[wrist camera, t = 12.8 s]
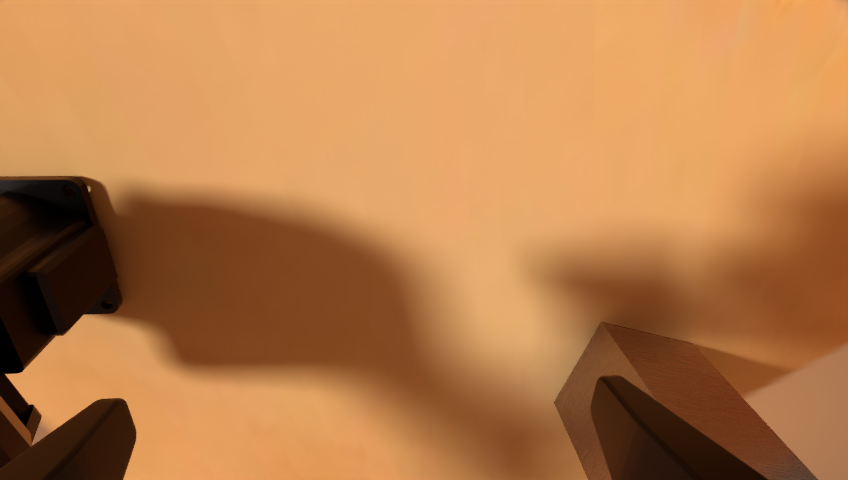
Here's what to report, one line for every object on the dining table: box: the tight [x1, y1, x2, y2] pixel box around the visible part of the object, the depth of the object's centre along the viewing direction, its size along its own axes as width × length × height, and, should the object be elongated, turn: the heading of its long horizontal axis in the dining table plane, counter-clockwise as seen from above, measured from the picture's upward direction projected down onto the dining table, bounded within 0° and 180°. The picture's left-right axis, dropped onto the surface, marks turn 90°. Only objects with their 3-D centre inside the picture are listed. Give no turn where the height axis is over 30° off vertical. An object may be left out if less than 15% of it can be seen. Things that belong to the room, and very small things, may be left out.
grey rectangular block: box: [554, 322, 818, 480], centre depth 23 cm, size 6×6×11 cm
